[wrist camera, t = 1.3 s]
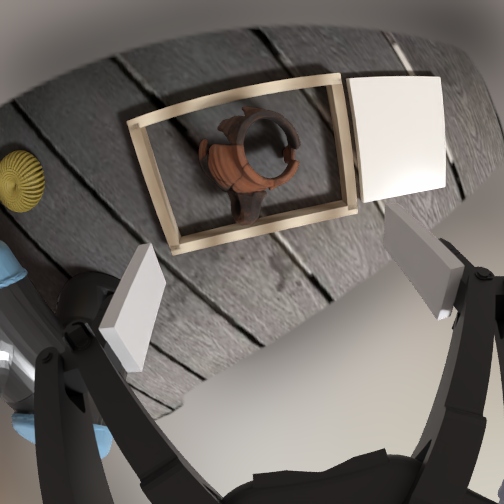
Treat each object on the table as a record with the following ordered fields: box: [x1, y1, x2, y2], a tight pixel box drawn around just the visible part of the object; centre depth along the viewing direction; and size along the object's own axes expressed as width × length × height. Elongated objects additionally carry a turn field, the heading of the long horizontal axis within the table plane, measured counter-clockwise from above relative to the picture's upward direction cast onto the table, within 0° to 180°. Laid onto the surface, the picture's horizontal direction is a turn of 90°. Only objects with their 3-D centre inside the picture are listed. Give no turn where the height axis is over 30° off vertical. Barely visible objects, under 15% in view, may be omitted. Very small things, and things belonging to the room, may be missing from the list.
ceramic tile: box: [346, 76, 446, 203], centre depth 31 cm, size 13×15×1 cm
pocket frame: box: [127, 73, 358, 255], centre depth 32 cm, size 22×16×2 cm
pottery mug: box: [199, 107, 300, 226], centre depth 30 cm, size 12×10×8 cm
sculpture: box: [0, 150, 45, 212], centre depth 28 cm, size 8×4×8 cm
